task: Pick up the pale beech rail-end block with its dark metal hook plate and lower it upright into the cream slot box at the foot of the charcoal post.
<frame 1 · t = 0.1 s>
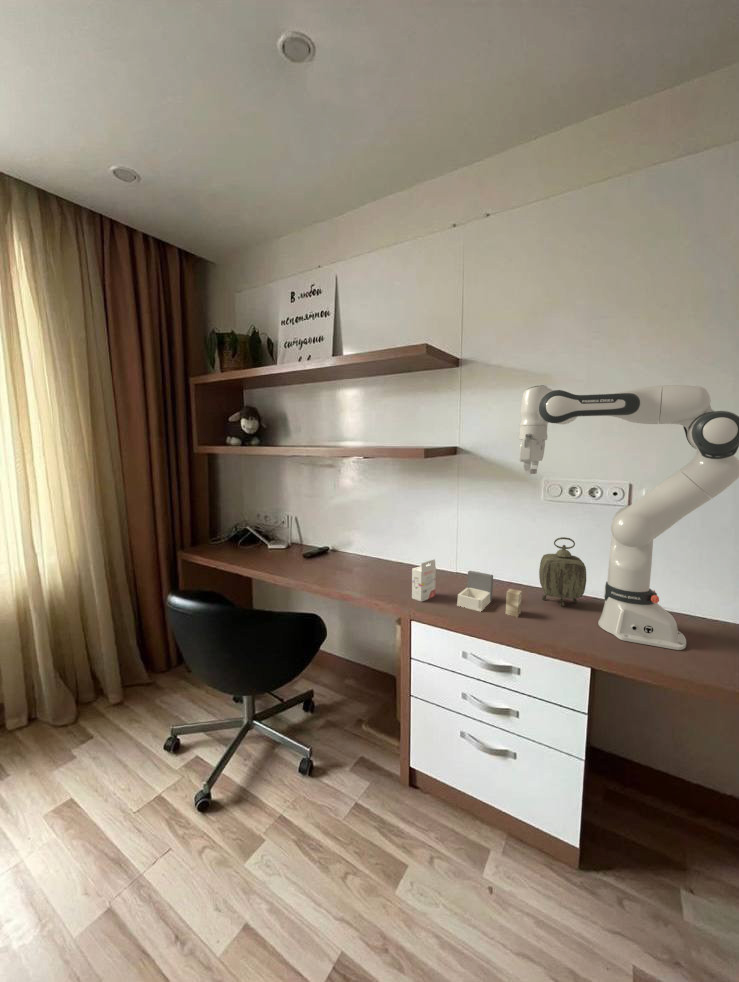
hand: (530, 474, 137), 48 cm above the table, tool pointing down, fingers open, 8 cm apart
tabletop clock: (560, 604, 144), on the table
ink cartridge box: (423, 597, 149), on the table
post socket: (473, 604, 143), on the table
rail end bracket: (513, 613, 135), on the table
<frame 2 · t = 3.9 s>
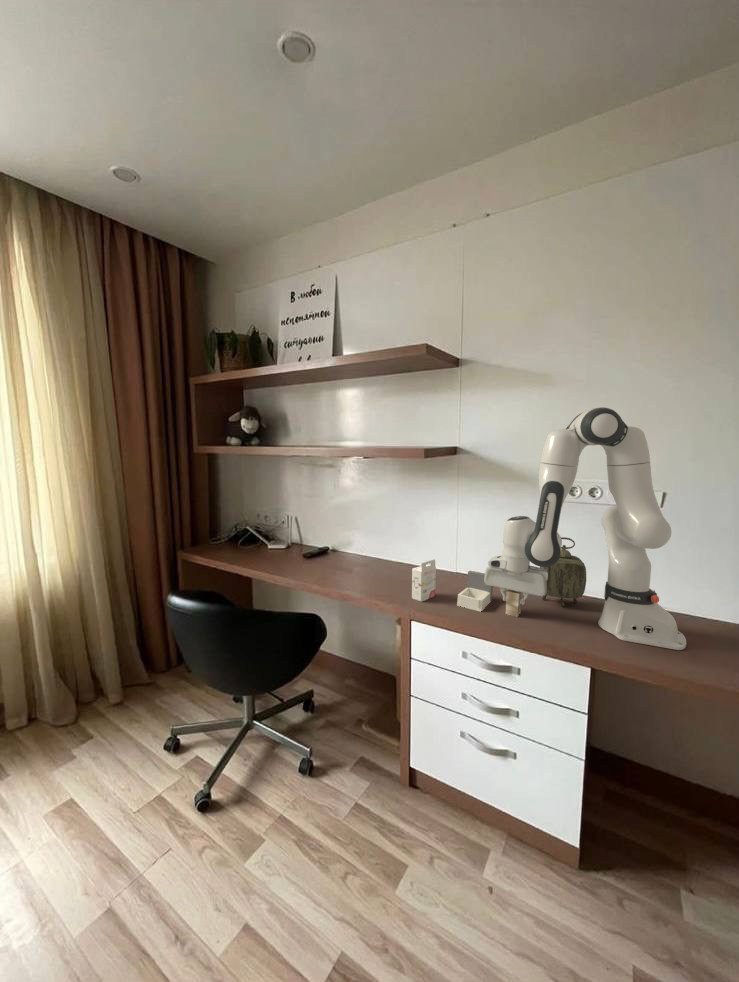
hand: (513, 602, 135), 4 cm above the table, tool pointing down, fingers closed on rail end bracket, 4 cm apart
rail end bracket: (513, 613, 135), on the table, touching gripper
everything else where it was.
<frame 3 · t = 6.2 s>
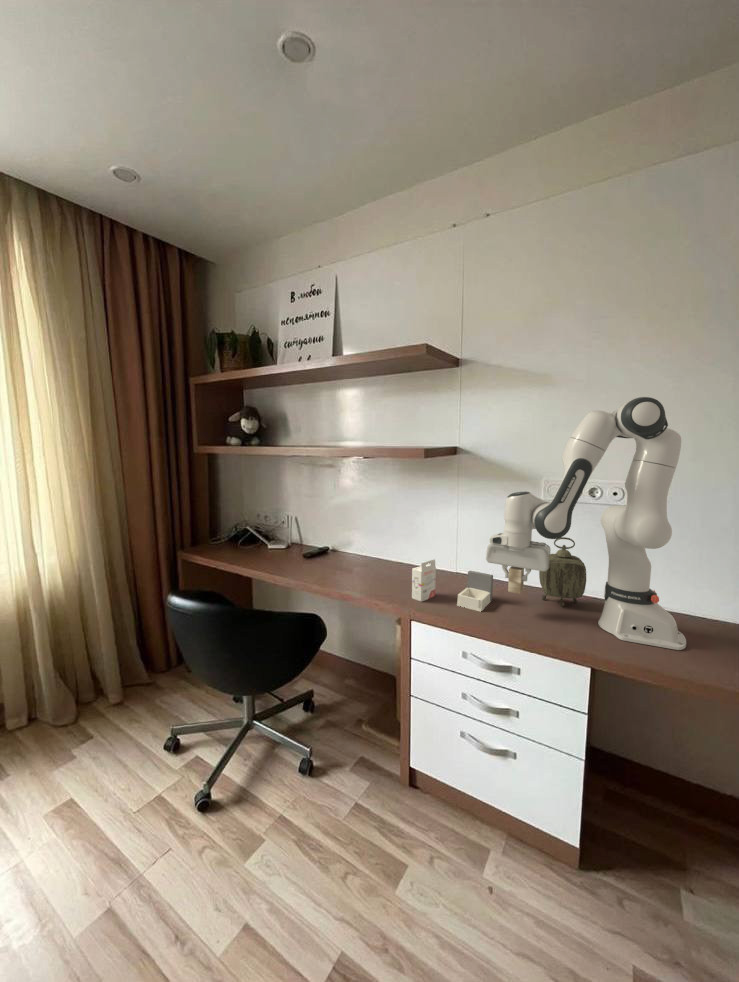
hand: (516, 579, 134), 12 cm above the table, tool pointing down, fingers closed on rail end bracket, 4 cm apart
rail end bracket: (515, 590, 134), point 8 cm above the table, touching gripper
everything else where it was.
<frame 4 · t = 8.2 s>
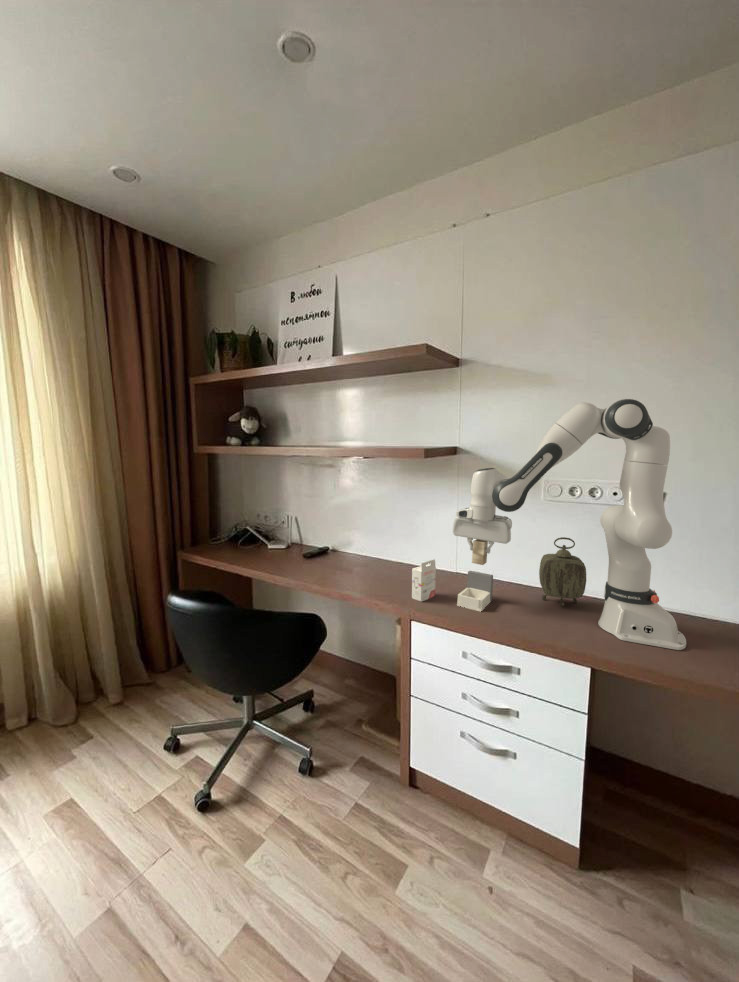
hand: (479, 551, 140), 20 cm above the table, tool pointing down, fingers closed on rail end bracket, 4 cm apart
rail end bracket: (479, 562, 141), point 16 cm above the table, touching gripper
everything else where it was.
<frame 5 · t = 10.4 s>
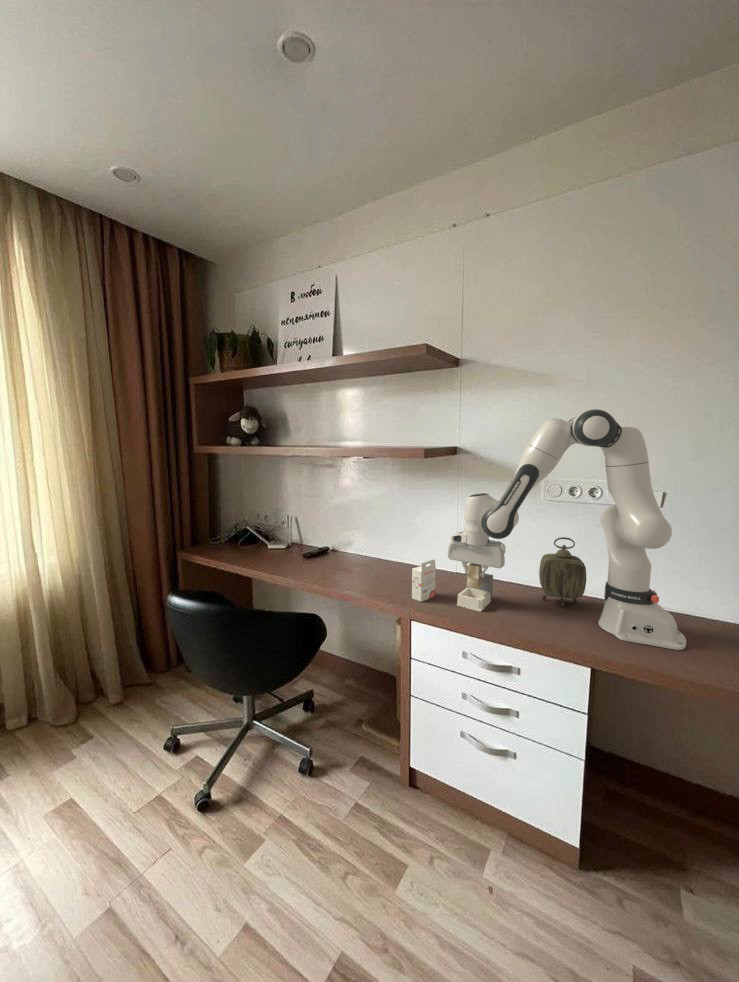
hand: (474, 575, 142), 11 cm above the table, tool pointing down, fingers closed on rail end bracket, 4 cm apart
rail end bracket: (474, 586, 142), point 7 cm above the table, touching gripper
everything else where it was.
when the fingers open (7 cm above the table, at t = 12.2 s): rail end bracket drops 1 cm, resting on post socket.
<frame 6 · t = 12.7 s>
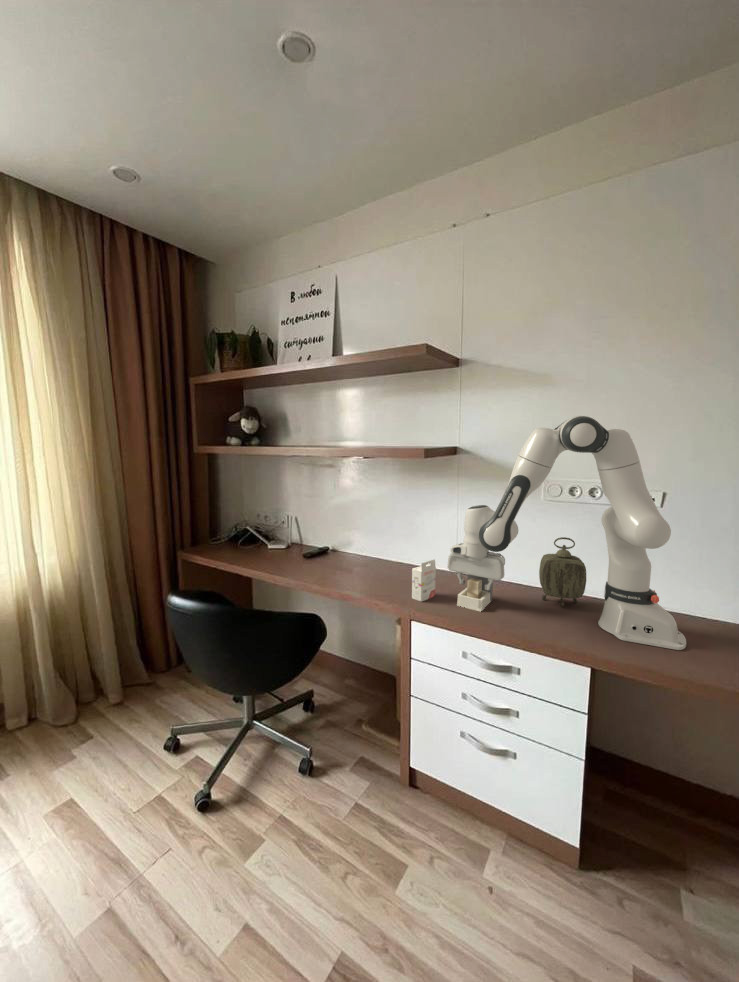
hand: (474, 586, 142), 7 cm above the table, tool pointing down, fingers open, 8 cm apart
rail end bracket: (473, 601, 143), point 1 cm above the table, touching post socket
everything else where it was.
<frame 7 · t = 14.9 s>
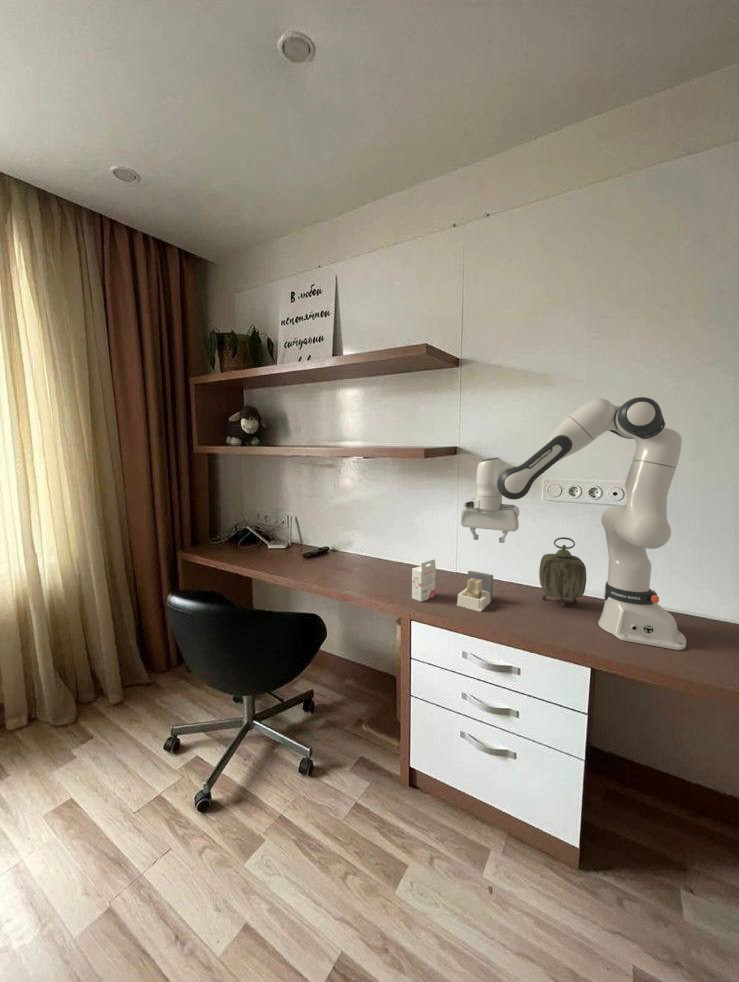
hand: (488, 541, 142), 23 cm above the table, tool pointing down, fingers open, 8 cm apart
nothing on the table moved.
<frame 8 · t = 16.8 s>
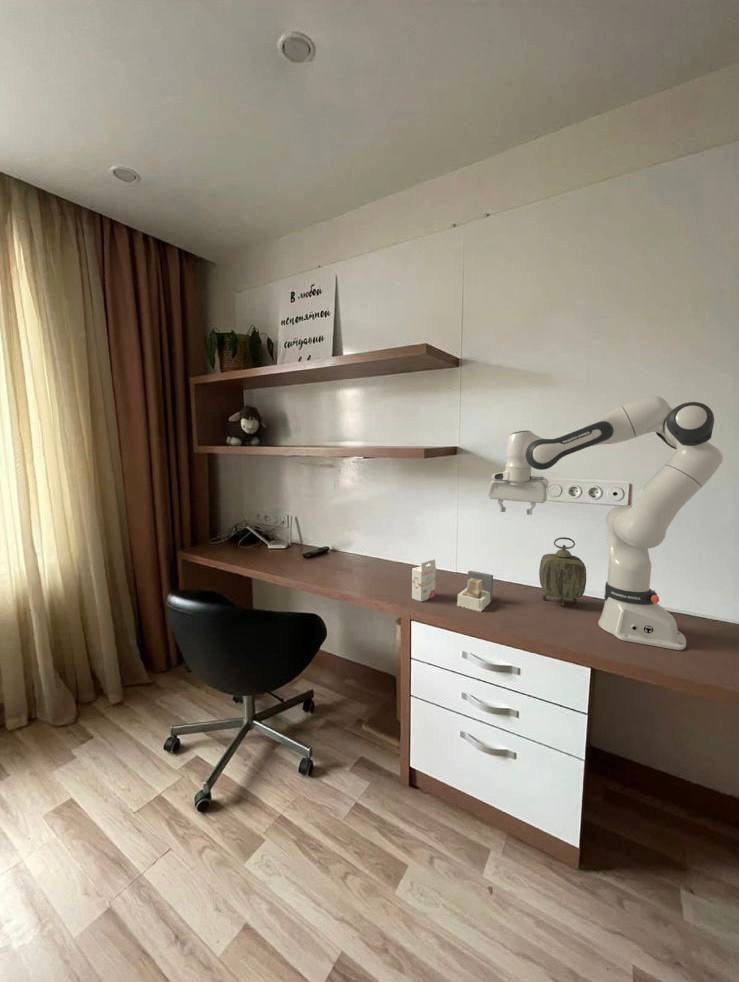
hand: (515, 513, 144), 33 cm above the table, tool pointing down, fingers open, 8 cm apart
nothing on the table moved.
at the end: rail end bracket 0.1 cm off-centre on the post socket, point 1.0 cm above the post socket's base; rail end bracket tilted 0°; the gripper is holding nothing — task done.
